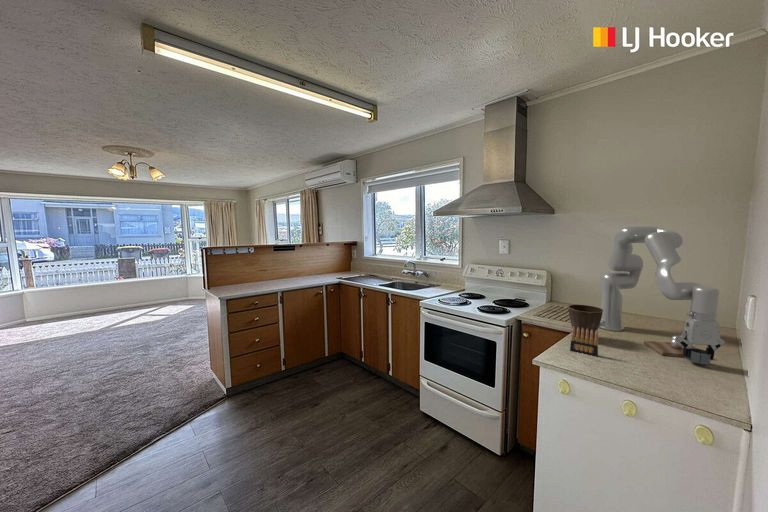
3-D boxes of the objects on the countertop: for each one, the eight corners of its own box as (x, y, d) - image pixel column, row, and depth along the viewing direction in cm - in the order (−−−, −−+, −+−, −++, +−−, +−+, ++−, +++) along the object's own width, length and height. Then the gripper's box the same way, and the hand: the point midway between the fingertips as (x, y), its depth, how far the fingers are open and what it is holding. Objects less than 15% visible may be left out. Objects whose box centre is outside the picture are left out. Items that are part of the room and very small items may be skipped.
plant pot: (560, 335, 163) (561, 305, 161) (581, 331, 167) (582, 303, 165) (586, 345, 148) (588, 313, 147) (608, 341, 153) (610, 310, 151)
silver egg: (673, 349, 139) (674, 336, 139) (668, 346, 143) (669, 334, 142) (683, 349, 138) (684, 337, 138) (677, 346, 142) (678, 334, 141)
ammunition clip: (597, 355, 137) (599, 329, 136) (597, 357, 136) (599, 331, 135) (570, 349, 144) (571, 325, 143) (569, 350, 143) (571, 326, 141)
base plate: (662, 355, 136) (662, 352, 136) (643, 343, 150) (644, 340, 149) (711, 359, 132) (711, 356, 132) (688, 346, 145) (688, 343, 145)
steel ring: (693, 363, 125) (694, 353, 125) (681, 355, 132) (682, 346, 131) (714, 364, 123) (715, 355, 123) (701, 357, 130) (702, 348, 130)
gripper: (683, 317, 124) (679, 359, 126) (737, 320, 119) (731, 363, 122) (671, 312, 131) (667, 351, 133) (721, 314, 127) (716, 355, 129)
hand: (697, 357), depth 127 cm, fingers closed on steel ring, 7 cm apart
